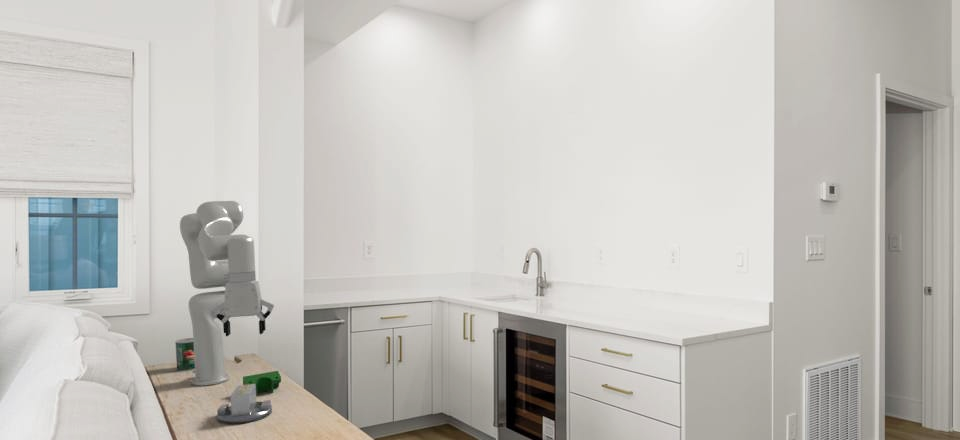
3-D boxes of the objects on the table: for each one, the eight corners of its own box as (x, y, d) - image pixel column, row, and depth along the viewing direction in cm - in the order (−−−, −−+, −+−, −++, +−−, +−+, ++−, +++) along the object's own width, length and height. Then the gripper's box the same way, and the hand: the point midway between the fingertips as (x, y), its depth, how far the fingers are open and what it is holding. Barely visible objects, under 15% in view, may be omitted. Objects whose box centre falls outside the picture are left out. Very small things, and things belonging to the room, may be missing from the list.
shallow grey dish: (211, 426, 172) (211, 416, 172) (224, 409, 187) (223, 399, 187) (267, 421, 174) (266, 410, 174) (275, 404, 189) (274, 394, 189)
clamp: (253, 409, 199) (241, 388, 196) (249, 400, 204) (237, 379, 200) (287, 389, 204) (276, 368, 200) (283, 381, 209) (272, 360, 205)
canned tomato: (193, 370, 234) (191, 342, 234) (172, 371, 234) (171, 343, 234) (203, 365, 242) (201, 337, 242) (183, 366, 242) (181, 338, 242)
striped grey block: (231, 416, 175) (230, 395, 175) (239, 404, 185) (238, 385, 185) (250, 414, 176) (249, 393, 176) (256, 403, 186) (255, 383, 186)
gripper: (208, 280, 178) (211, 339, 179) (270, 277, 181) (272, 335, 182) (215, 277, 186) (217, 333, 187) (274, 274, 189) (276, 329, 189)
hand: (244, 334), depth 184 cm, fingers open, 9 cm apart
